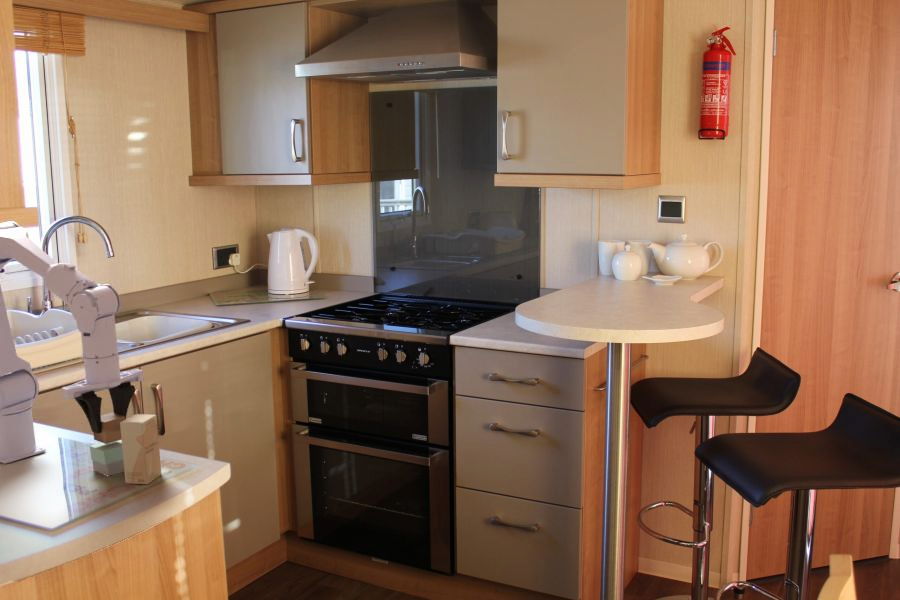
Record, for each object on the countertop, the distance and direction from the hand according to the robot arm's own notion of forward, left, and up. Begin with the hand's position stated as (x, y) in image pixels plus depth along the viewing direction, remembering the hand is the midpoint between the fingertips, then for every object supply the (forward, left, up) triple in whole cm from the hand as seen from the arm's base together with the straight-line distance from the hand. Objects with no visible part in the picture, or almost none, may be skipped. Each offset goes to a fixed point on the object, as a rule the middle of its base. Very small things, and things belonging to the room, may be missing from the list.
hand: (108, 428), depth 160 cm
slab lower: (0, 0, -8) cm, 8 cm away
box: (+9, +1, -8) cm, 12 cm away
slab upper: (0, 0, -6) cm, 6 cm away
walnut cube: (0, 0, -2) cm, 2 cm away
